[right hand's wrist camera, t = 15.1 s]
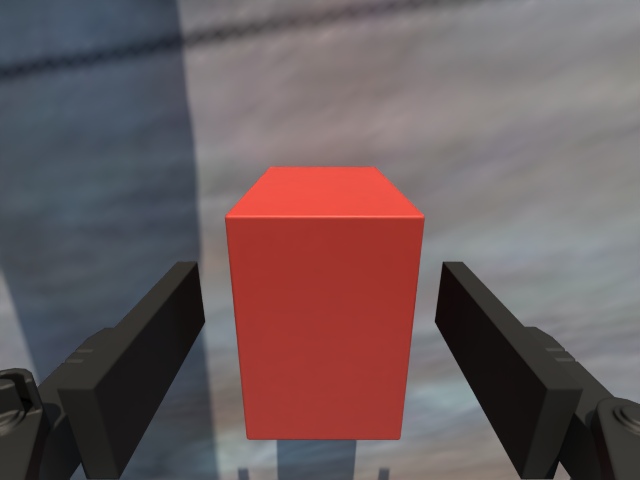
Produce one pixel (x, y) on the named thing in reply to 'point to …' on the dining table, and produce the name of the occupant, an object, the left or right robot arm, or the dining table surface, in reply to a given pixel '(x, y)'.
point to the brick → (324, 302)
